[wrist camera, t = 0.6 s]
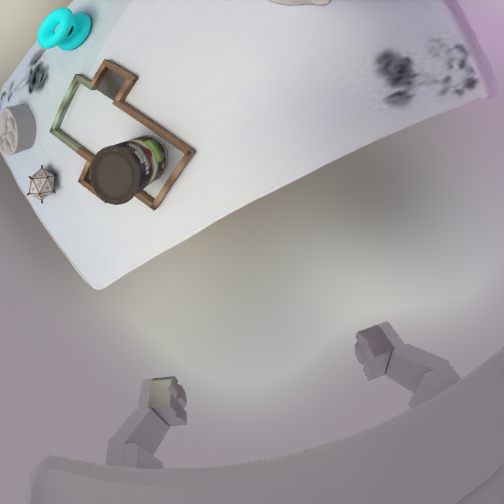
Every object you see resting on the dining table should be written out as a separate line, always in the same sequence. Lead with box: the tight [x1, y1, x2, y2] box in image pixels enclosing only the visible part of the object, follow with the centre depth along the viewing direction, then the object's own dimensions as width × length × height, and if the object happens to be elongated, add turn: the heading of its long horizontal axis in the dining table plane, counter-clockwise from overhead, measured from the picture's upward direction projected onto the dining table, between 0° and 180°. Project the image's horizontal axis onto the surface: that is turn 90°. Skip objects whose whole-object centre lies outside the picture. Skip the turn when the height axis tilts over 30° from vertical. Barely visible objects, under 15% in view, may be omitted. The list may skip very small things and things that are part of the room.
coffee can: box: [90, 136, 168, 205], centre depth 45 cm, size 10×10×14 cm
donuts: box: [38, 8, 91, 50], centre depth 30 cm, size 10×10×10 cm
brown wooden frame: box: [50, 59, 196, 211], centre depth 48 cm, size 27×35×2 cm
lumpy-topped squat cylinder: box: [0, 104, 36, 155], centre depth 42 cm, size 10×13×9 cm
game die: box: [27, 165, 57, 203], centre depth 50 cm, size 9×8×10 cm
